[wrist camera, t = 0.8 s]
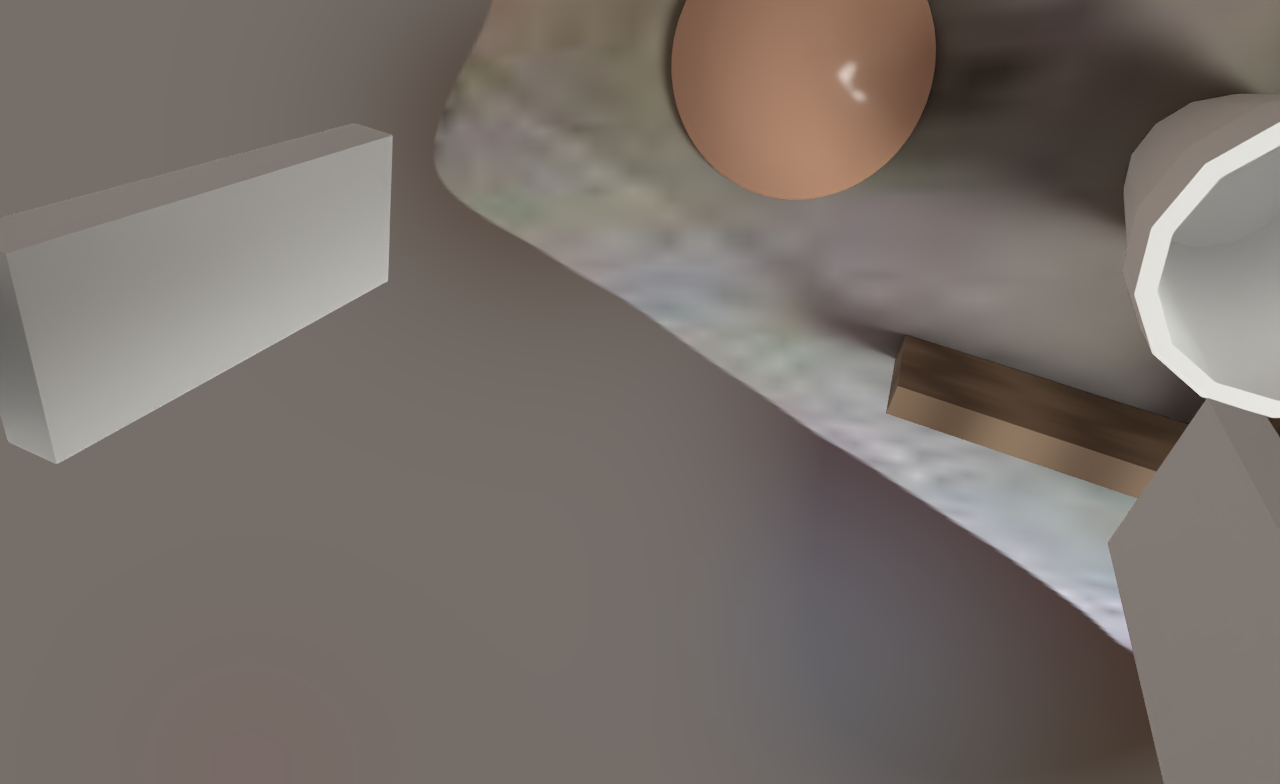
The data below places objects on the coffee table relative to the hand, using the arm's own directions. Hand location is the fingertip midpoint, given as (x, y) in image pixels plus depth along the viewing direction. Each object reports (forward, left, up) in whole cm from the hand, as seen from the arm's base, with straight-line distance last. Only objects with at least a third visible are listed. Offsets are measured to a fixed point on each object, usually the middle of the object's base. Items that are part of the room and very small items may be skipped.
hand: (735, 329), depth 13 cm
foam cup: (-14, 0, -29) cm, 32 cm away
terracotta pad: (+4, 0, -29) cm, 29 cm away
